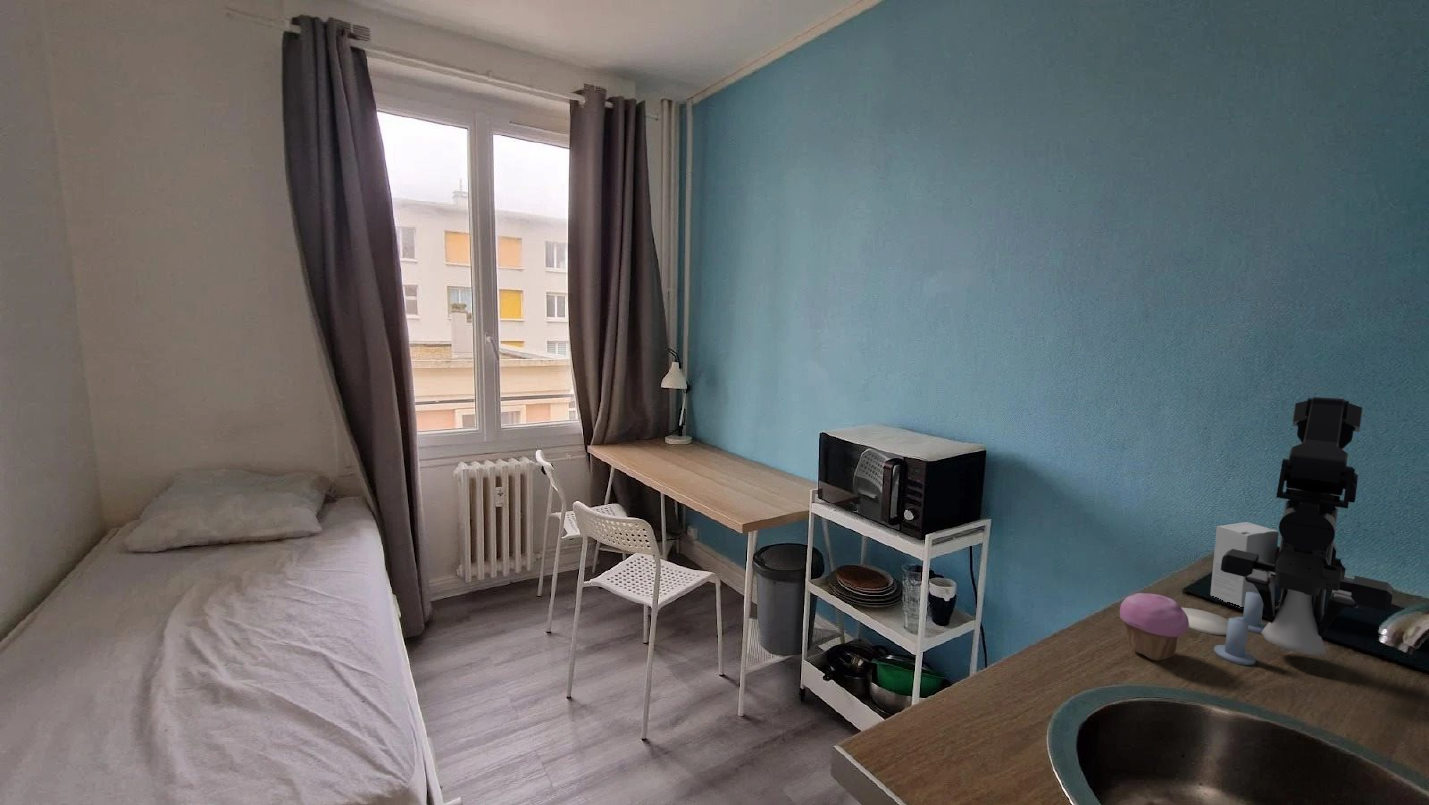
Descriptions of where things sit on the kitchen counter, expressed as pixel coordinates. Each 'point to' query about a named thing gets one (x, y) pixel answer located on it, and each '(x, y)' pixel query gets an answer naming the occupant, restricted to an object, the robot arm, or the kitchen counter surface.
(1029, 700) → the kitchen counter surface
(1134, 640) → the cupcake
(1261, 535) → the skincare box
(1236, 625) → the pair of blue pegs
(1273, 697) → the kitchen counter surface
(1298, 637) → the flask
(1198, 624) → the cream round disc
